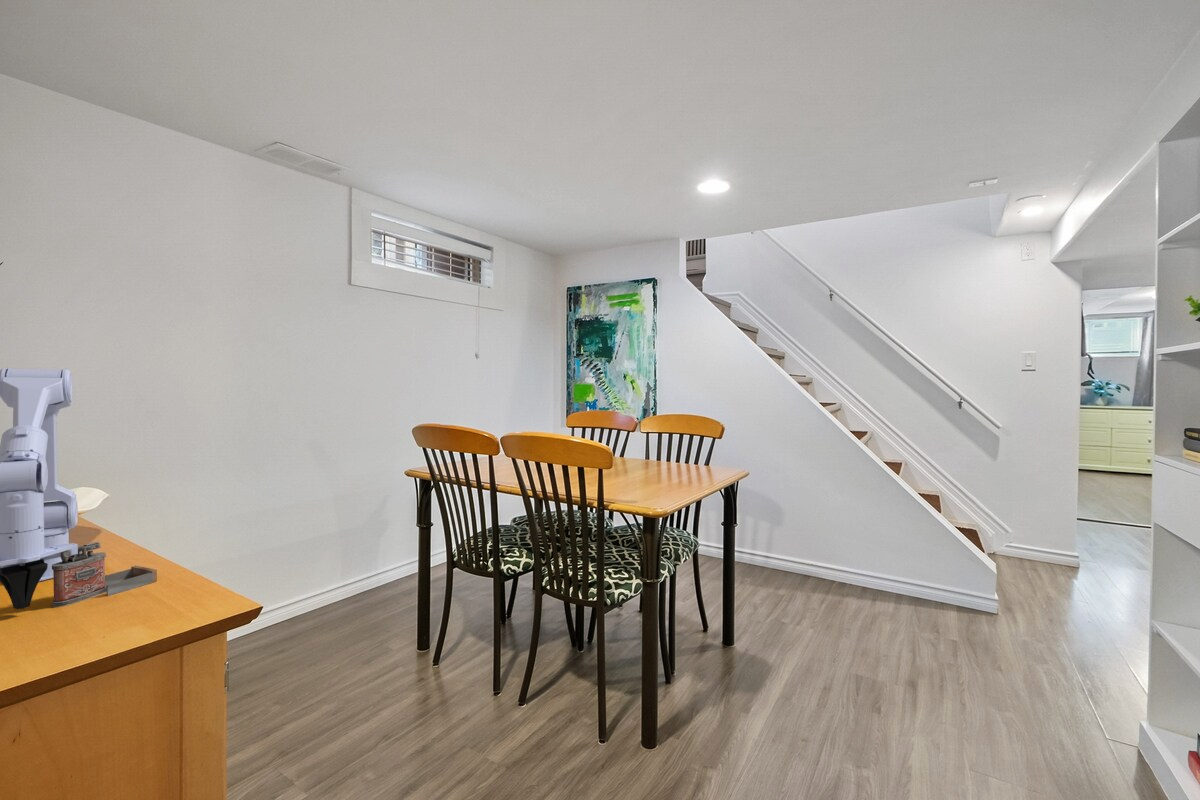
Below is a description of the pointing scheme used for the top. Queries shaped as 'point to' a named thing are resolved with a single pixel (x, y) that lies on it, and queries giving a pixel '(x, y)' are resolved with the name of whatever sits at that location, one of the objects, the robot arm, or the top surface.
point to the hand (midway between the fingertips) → (21, 607)
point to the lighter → (79, 575)
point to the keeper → (129, 579)
